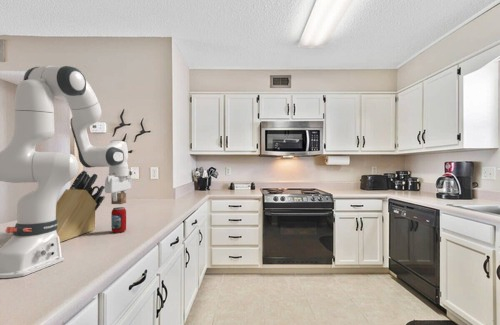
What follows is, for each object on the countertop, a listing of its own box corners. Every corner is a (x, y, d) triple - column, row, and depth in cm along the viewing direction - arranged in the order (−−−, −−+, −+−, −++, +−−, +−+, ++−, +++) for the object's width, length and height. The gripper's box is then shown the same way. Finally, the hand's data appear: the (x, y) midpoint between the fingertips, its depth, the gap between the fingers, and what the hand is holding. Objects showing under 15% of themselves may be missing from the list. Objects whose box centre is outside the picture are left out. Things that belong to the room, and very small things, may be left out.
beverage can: (108, 232, 141) (108, 208, 141) (120, 229, 147) (120, 206, 147) (117, 234, 138) (117, 209, 138) (129, 231, 144) (129, 207, 144)
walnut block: (121, 204, 140) (121, 194, 140) (111, 204, 140) (111, 194, 140) (126, 202, 145) (126, 192, 145) (116, 202, 145) (116, 192, 145)
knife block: (107, 226, 155) (106, 169, 155) (56, 245, 120) (55, 172, 120) (88, 225, 157) (87, 169, 156) (32, 244, 122) (31, 172, 121)
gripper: (114, 173, 132) (114, 203, 132) (133, 171, 152) (134, 197, 153) (100, 173, 132) (101, 203, 132) (122, 171, 153) (122, 197, 153)
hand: (118, 200), depth 143 cm, fingers closed on walnut block, 5 cm apart
